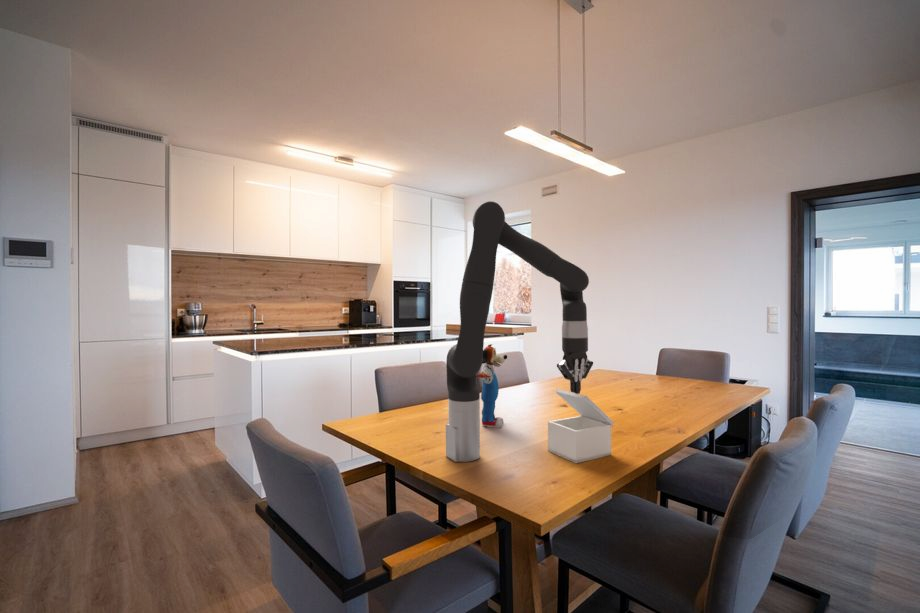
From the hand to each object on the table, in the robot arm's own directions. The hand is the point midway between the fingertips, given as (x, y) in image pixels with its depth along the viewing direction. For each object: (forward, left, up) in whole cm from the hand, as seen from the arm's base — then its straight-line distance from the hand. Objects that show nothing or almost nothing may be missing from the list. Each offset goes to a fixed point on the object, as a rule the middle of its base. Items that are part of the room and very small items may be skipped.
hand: (575, 393), depth 129 cm
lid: (+3, 0, -5) cm, 6 cm away
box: (+1, 0, -18) cm, 18 cm away
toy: (-5, +38, -18) cm, 43 cm away
